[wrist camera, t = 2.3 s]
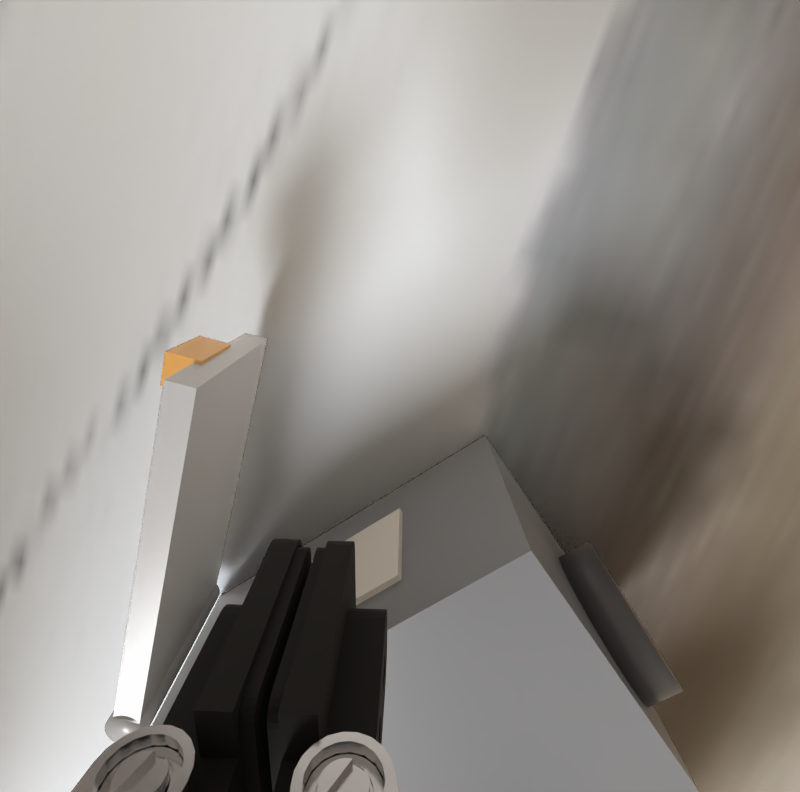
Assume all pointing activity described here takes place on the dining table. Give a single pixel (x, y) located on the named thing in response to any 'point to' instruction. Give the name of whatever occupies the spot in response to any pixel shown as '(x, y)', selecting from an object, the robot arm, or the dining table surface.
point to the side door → (185, 515)
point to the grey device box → (499, 644)
